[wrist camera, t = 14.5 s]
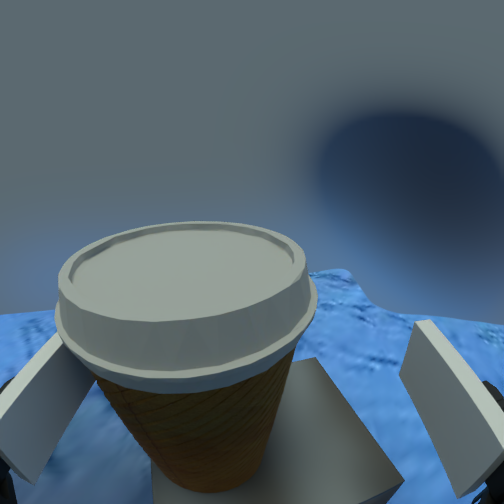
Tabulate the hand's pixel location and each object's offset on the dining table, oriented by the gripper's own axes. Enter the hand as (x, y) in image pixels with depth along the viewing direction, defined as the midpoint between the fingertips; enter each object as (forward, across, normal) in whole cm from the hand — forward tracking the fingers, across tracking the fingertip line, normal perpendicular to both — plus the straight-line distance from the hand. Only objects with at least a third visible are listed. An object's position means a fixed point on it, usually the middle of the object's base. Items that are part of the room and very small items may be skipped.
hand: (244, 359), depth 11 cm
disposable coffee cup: (+1, -2, -8) cm, 9 cm away
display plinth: (+2, 0, -14) cm, 14 cm away
